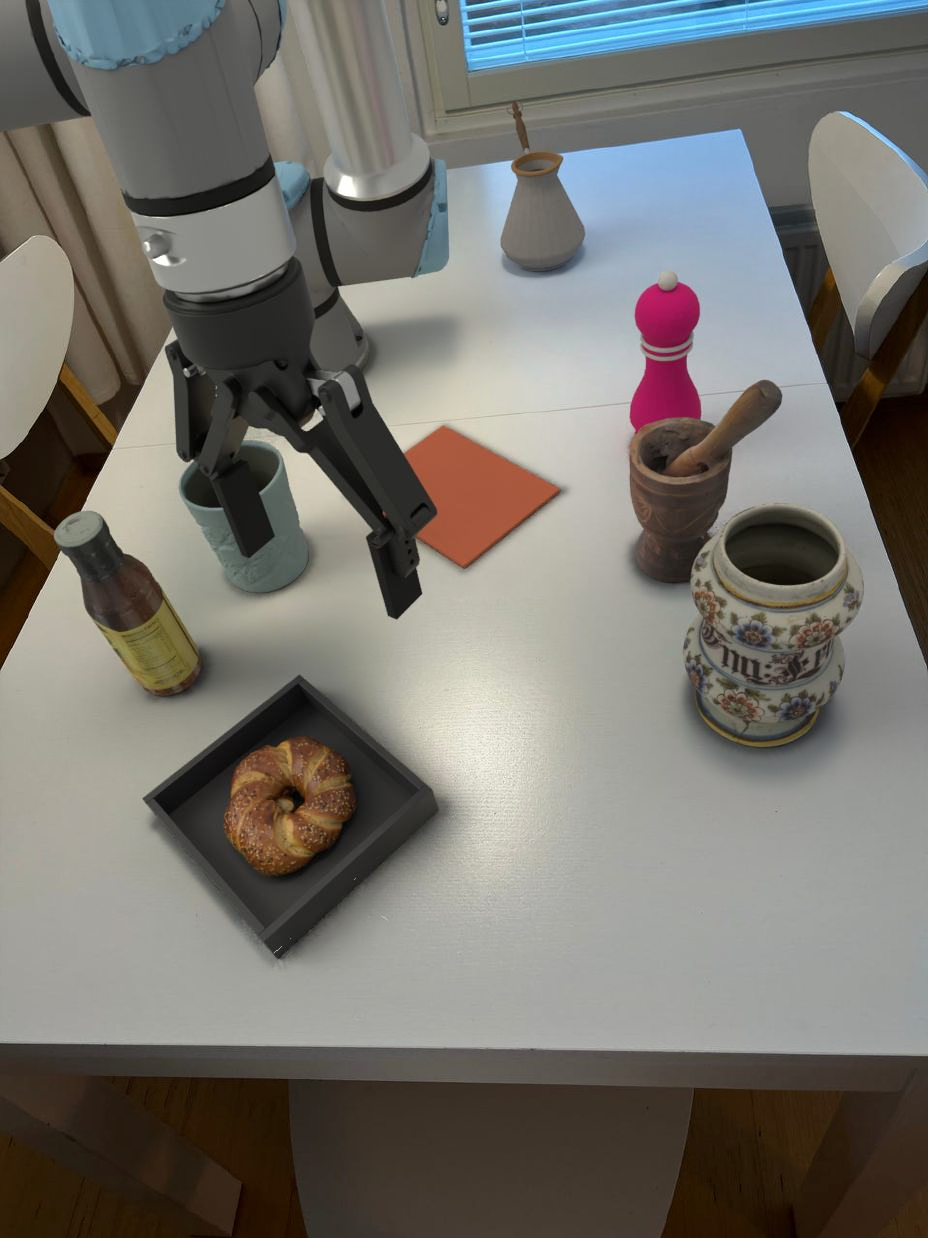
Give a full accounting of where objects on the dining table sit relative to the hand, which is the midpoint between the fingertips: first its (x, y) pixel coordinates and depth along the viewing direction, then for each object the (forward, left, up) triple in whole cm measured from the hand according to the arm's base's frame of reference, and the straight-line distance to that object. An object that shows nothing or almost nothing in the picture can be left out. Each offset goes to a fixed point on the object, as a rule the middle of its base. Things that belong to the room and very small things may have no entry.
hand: (328, 574), depth 64 cm
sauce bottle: (-22, -9, -22) cm, 32 cm away
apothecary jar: (+20, +23, -22) cm, 37 cm away
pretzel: (-1, -10, -21) cm, 23 cm away
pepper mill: (-6, +44, -22) cm, 50 cm away
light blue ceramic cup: (-27, +6, -22) cm, 35 cm away
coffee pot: (-48, +69, -22) cm, 87 cm away
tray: (-1, -10, -21) cm, 23 cm away
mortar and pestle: (+6, +33, -22) cm, 40 cm away
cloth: (-19, +25, -21) cm, 38 cm away
